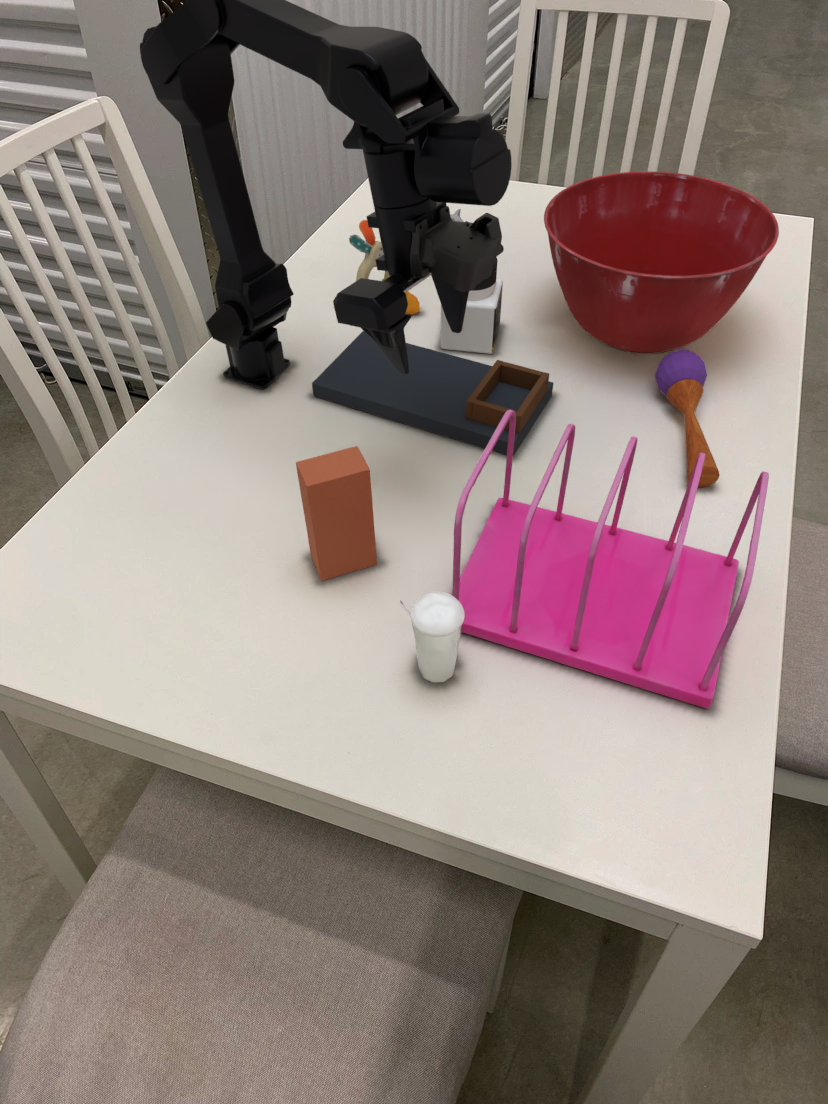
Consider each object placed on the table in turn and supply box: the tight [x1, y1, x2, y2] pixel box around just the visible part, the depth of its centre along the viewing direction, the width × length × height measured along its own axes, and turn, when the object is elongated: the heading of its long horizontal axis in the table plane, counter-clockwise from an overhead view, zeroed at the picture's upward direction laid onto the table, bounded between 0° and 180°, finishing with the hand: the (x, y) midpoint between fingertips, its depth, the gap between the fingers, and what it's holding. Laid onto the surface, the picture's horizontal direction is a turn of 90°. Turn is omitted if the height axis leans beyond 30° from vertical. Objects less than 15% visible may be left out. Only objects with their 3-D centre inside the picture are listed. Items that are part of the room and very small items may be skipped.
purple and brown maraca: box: [654, 349, 720, 488], centre depth 95 cm, size 6×6×20 cm
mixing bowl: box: [543, 170, 780, 355], centre depth 107 cm, size 28×28×16 cm
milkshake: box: [399, 590, 464, 684], centre depth 71 cm, size 4×5×10 cm
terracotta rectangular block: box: [295, 445, 378, 582], centre depth 79 cm, size 4×6×13 cm, turn 112°
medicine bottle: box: [440, 256, 504, 355], centre depth 107 cm, size 7×7×12 cm
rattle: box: [348, 219, 421, 316], centre depth 113 cm, size 8×8×12 cm
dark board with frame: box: [311, 330, 554, 457], centre depth 101 cm, size 27×13×4 cm, turn 63°
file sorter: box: [451, 410, 770, 709], centre depth 74 cm, size 17×25×16 cm
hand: (431, 352), depth 85 cm, fingers open, 9 cm apart
